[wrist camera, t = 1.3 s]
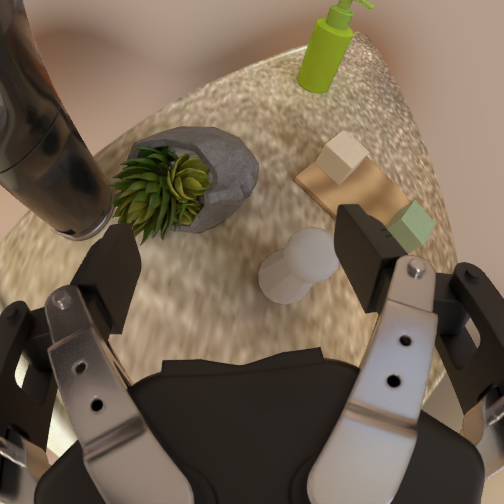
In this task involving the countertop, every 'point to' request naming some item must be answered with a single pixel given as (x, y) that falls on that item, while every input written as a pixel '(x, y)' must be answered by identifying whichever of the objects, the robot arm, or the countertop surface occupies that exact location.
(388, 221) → the wood board
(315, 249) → the salt shaker
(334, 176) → the beige matte cube
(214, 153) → the potted plant
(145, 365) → the countertop surface
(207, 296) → the countertop surface
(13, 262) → the countertop surface
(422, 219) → the sage green cube
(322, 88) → the soap dispenser
